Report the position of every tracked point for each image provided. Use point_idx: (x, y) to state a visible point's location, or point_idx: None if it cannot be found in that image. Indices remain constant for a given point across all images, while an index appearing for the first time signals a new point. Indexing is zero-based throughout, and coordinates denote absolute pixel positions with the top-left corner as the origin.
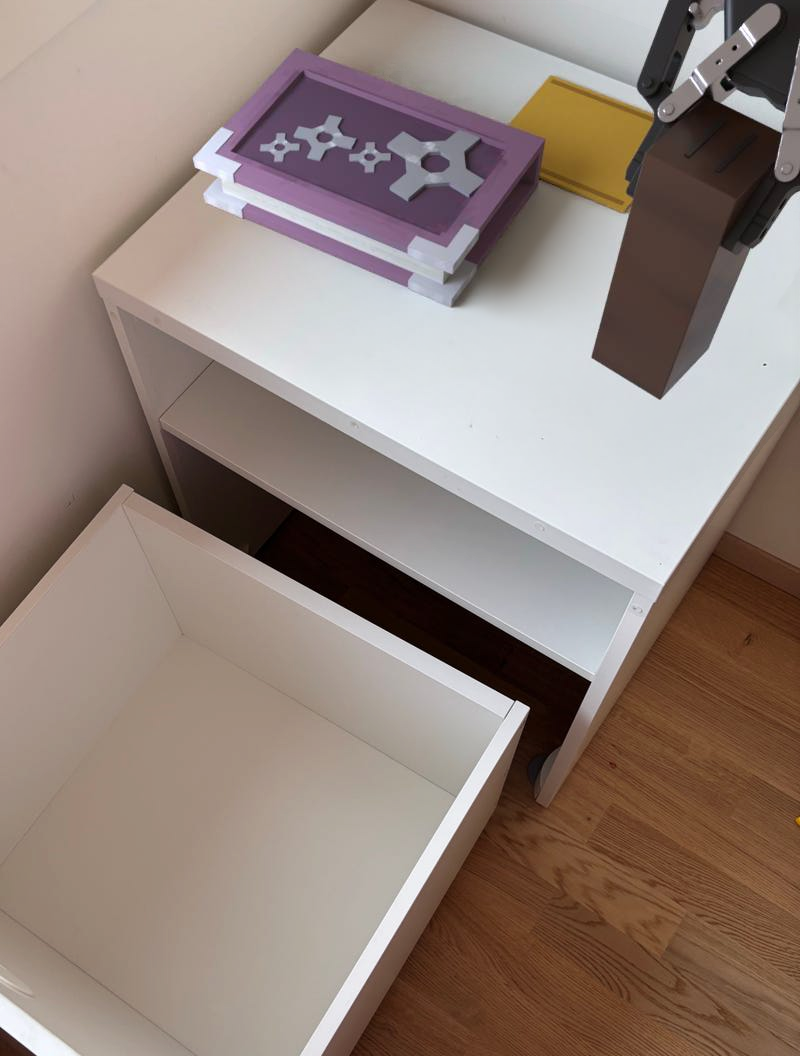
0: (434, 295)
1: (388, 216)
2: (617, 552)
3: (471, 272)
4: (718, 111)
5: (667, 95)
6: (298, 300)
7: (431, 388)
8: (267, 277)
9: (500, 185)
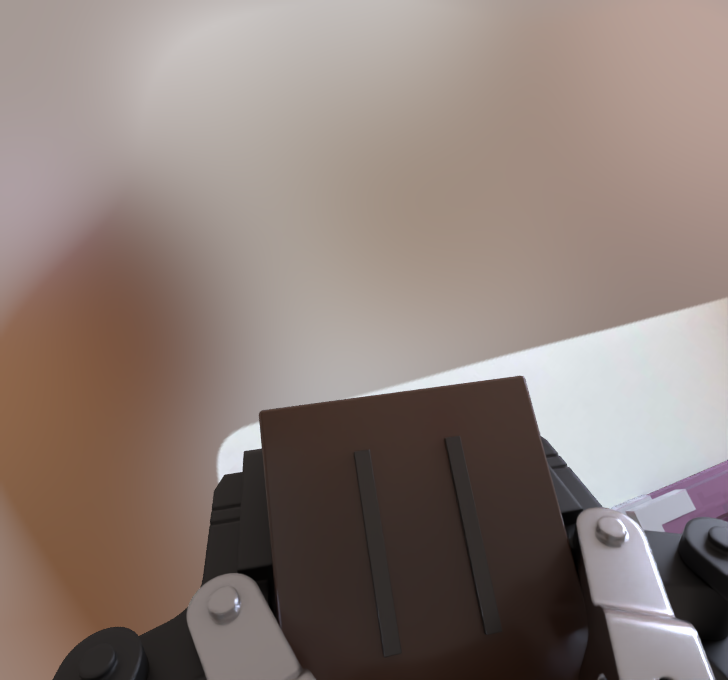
0: (617, 507)
1: None
2: (256, 427)
3: None
4: (530, 649)
5: (659, 571)
6: (683, 397)
7: None
8: (724, 392)
9: None
